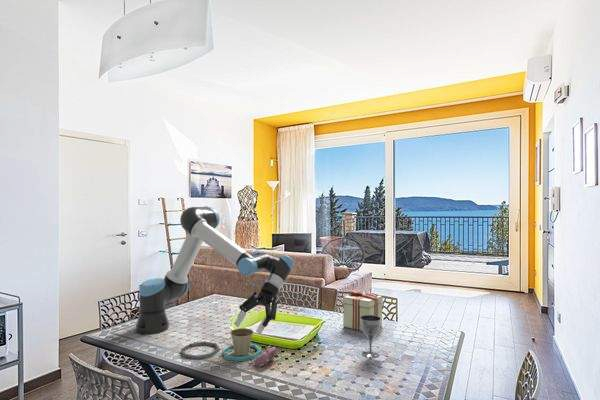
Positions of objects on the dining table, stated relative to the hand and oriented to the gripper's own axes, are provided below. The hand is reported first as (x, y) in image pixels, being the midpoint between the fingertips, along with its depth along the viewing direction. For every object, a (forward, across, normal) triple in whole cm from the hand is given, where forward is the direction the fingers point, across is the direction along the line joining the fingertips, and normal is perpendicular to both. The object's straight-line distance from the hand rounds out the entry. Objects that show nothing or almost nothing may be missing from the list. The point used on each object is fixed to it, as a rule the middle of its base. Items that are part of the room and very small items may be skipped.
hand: (246, 329), depth 154 cm
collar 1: (+15, +15, +2) cm, 22 cm away
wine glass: (-15, -41, -28) cm, 52 cm away
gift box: (-35, -20, -49) cm, 64 cm away
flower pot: (+8, +1, -5) cm, 10 cm away
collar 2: (+8, +1, -5) cm, 10 cm away
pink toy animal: (+8, -14, -6) cm, 17 cm away
